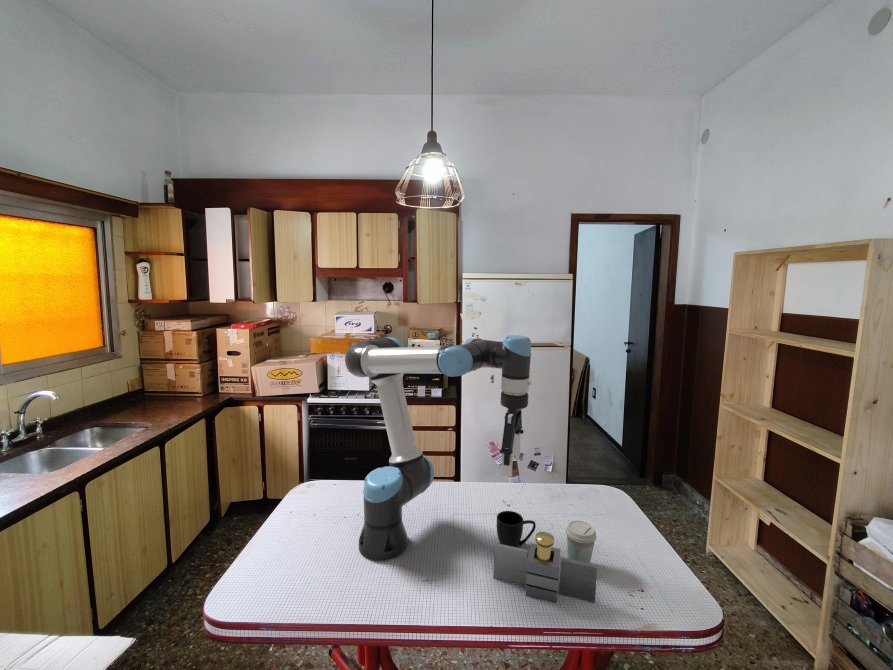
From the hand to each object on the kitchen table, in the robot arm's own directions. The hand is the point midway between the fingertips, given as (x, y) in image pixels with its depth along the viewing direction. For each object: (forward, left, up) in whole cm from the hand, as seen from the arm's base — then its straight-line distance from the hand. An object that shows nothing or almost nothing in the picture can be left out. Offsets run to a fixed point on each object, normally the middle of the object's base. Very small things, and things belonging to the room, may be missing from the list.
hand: (510, 464), depth 115 cm
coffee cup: (+20, +7, -31) cm, 38 cm away
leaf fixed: (+15, -6, -31) cm, 35 cm away
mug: (+1, +10, -32) cm, 33 cm away
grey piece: (+6, -6, -31) cm, 32 cm away
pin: (+10, -6, -31) cm, 33 cm away
